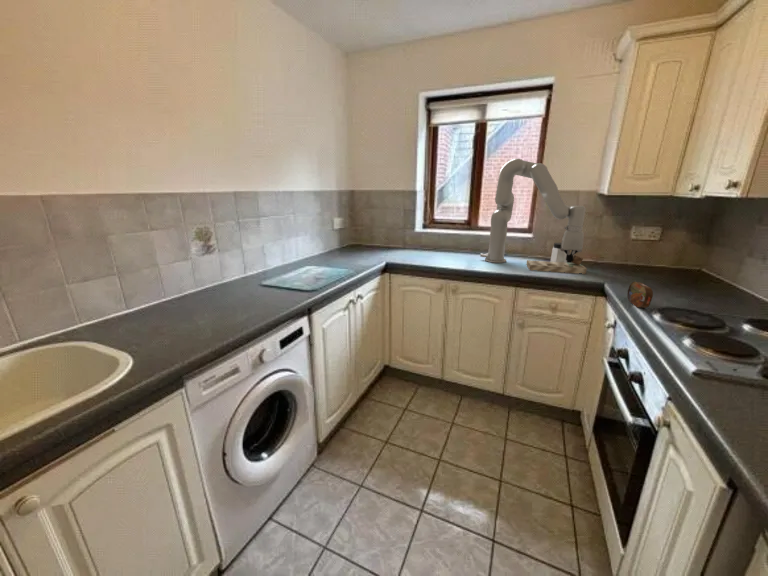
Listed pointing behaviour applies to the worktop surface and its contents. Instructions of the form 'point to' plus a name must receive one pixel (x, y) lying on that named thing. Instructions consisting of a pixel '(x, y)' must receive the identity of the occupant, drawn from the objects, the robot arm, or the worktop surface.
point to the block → (577, 260)
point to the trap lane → (556, 267)
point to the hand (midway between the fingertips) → (568, 261)
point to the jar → (558, 254)
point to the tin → (639, 294)
